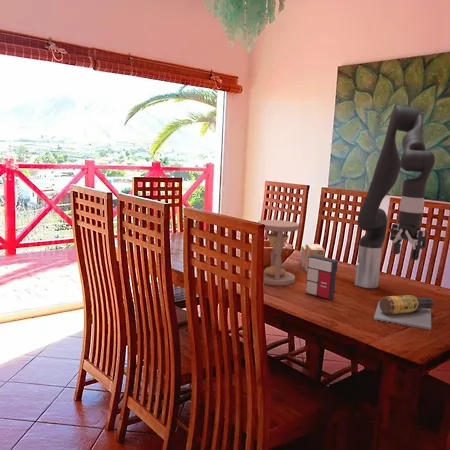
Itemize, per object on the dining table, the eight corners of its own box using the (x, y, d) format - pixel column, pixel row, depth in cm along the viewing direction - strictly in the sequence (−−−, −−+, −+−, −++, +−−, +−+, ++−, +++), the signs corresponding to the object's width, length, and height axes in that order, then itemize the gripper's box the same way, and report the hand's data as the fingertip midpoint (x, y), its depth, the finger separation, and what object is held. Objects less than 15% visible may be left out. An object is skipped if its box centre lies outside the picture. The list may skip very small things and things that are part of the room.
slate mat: (373, 319, 157) (373, 317, 157) (378, 302, 176) (379, 300, 175) (431, 329, 150) (431, 327, 150) (430, 311, 169) (430, 309, 169)
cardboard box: (300, 263, 232) (301, 239, 230) (312, 264, 232) (314, 240, 230) (309, 275, 211) (311, 249, 209) (322, 275, 211) (324, 249, 209)
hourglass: (294, 287, 191) (298, 227, 186) (252, 283, 193) (255, 224, 189) (295, 276, 208) (299, 221, 204) (256, 272, 211) (259, 218, 206)
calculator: (304, 293, 183) (307, 256, 181) (310, 291, 186) (313, 254, 184) (328, 300, 176) (332, 262, 174) (334, 298, 179) (338, 260, 177)
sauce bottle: (385, 293, 159) (430, 289, 166) (375, 301, 164) (419, 297, 171) (393, 311, 156) (438, 305, 163) (383, 318, 160) (427, 313, 168)
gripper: (436, 213, 151) (429, 261, 154) (404, 207, 164) (399, 251, 167) (418, 213, 148) (411, 262, 151) (387, 207, 161) (382, 252, 164)
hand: (405, 256), depth 159 cm, fingers open, 8 cm apart
